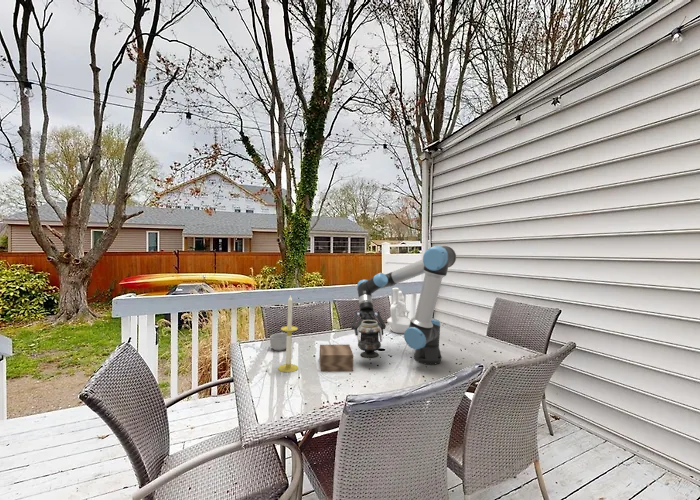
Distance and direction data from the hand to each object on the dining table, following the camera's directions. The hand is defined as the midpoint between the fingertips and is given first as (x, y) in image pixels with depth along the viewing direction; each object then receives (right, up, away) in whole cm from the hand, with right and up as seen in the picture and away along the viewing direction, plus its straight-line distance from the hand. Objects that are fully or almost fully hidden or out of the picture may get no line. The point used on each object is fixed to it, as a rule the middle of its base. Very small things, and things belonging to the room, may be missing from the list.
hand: (370, 340), depth 180 cm
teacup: (-51, -10, +22) cm, 57 cm away
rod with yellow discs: (-41, -12, -6) cm, 44 cm away
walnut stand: (-18, -13, +1) cm, 22 cm away
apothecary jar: (0, -9, +3) cm, 9 cm away
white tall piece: (+23, -11, +64) cm, 69 cm away
